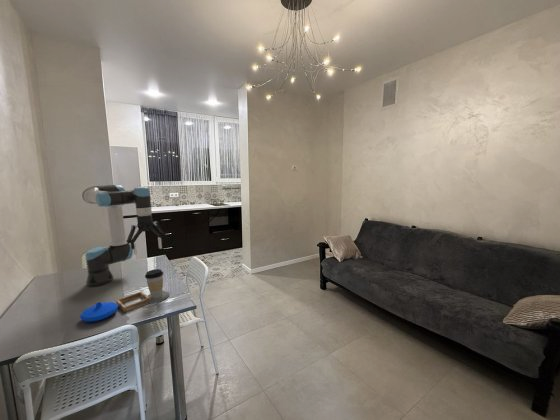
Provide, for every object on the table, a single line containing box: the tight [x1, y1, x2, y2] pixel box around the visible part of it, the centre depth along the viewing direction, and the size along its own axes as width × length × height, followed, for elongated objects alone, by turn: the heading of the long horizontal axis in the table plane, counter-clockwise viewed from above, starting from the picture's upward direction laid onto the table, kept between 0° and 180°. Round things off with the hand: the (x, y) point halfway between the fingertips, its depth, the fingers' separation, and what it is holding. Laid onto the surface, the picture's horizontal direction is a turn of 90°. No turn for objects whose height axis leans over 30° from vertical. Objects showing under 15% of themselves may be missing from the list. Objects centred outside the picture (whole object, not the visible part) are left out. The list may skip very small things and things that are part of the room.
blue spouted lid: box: [79, 301, 119, 323], centre depth 126 cm, size 16×16×7 cm
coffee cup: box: [144, 268, 164, 299], centre depth 142 cm, size 9×9×15 cm
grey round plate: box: [143, 290, 170, 304], centre depth 144 cm, size 13×13×1 cm
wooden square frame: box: [115, 290, 151, 313], centre depth 138 cm, size 13×13×2 cm
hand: (148, 251), depth 142 cm, fingers open, 13 cm apart
